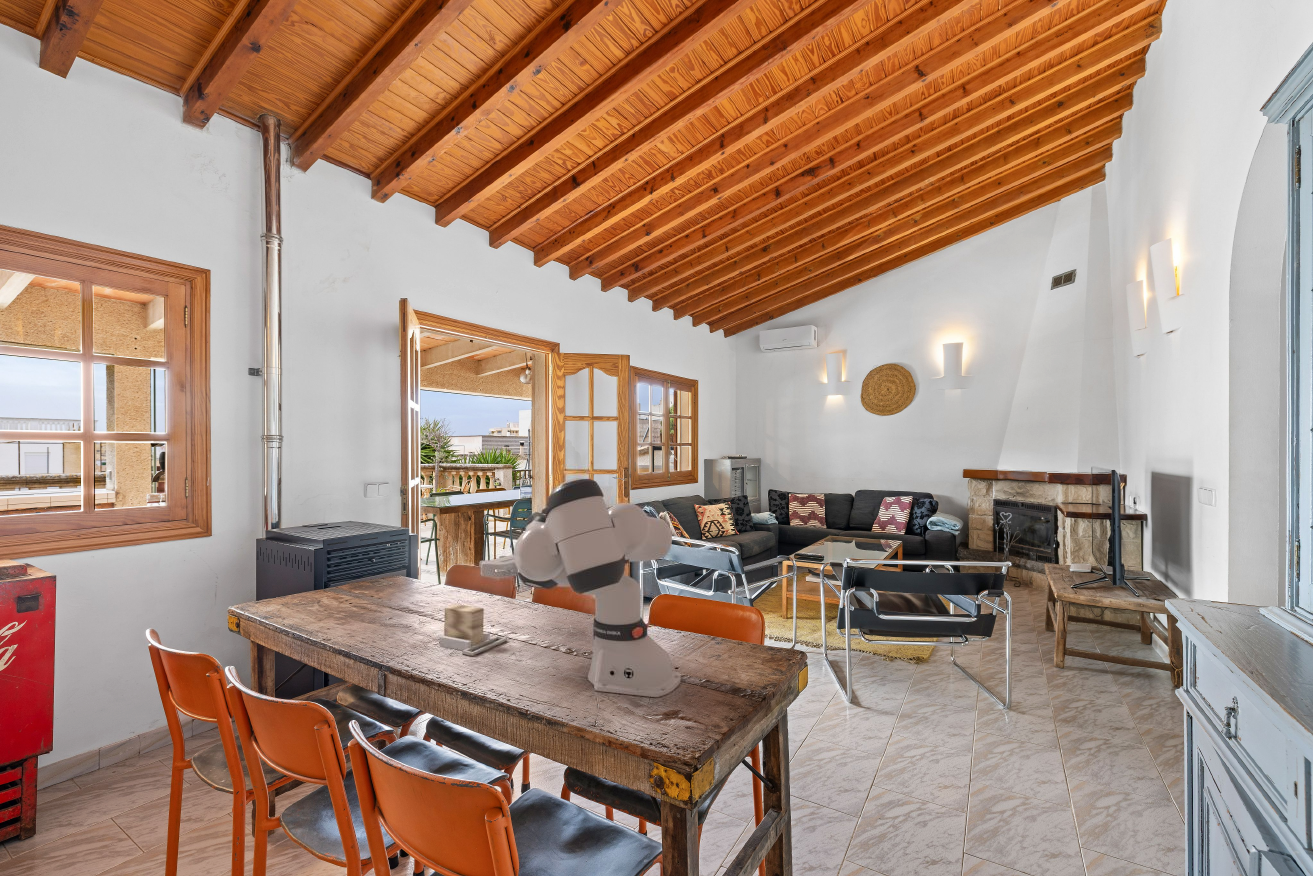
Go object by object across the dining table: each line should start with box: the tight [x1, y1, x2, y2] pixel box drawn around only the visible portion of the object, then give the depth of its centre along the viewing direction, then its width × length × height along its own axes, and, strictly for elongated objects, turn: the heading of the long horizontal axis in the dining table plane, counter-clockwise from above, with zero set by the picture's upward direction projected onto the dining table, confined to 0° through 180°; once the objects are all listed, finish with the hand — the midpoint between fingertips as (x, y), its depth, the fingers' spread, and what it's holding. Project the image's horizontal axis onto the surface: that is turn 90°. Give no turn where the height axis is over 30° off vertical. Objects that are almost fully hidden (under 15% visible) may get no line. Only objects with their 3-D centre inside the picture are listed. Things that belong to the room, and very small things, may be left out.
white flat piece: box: [439, 631, 491, 651], centre depth 166 cm, size 10×9×2 cm
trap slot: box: [461, 635, 508, 657], centre depth 163 cm, size 4×14×1 cm, turn 156°
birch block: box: [443, 603, 485, 647], centre depth 167 cm, size 10×4×10 cm, turn 65°
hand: (491, 561), depth 163 cm, fingers open, 7 cm apart
